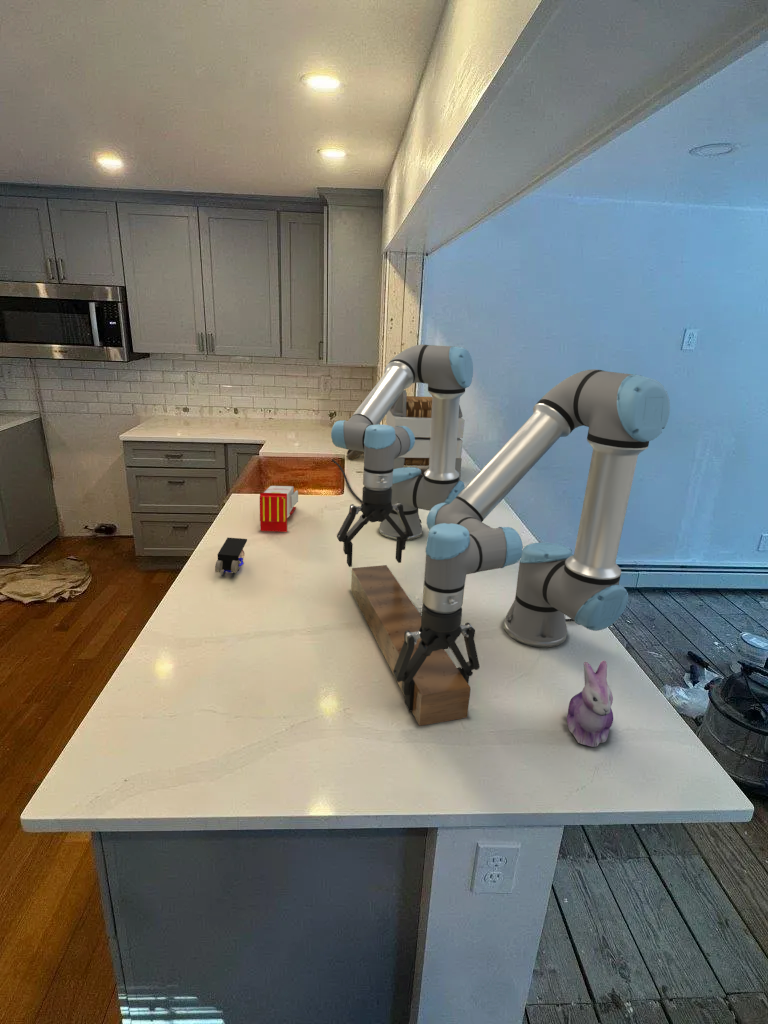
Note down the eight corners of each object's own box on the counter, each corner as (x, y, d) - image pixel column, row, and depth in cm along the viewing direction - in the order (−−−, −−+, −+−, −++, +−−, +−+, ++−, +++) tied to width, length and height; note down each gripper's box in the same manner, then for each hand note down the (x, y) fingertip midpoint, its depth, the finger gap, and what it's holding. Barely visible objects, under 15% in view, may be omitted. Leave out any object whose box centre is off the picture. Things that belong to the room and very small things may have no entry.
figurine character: (238, 584, 162) (249, 557, 175) (236, 562, 158) (247, 536, 172) (215, 584, 161) (227, 556, 175) (212, 561, 158) (225, 535, 171)
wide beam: (351, 591, 158) (351, 568, 156) (385, 587, 161) (386, 564, 159) (419, 726, 108) (421, 695, 106) (467, 717, 111) (470, 687, 109)
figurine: (591, 756, 102) (606, 687, 97) (551, 721, 111) (563, 655, 106) (628, 741, 107) (644, 673, 101) (587, 708, 115) (599, 644, 110)
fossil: (346, 442, 311) (368, 427, 306) (357, 455, 314) (379, 440, 309) (340, 456, 291) (363, 440, 286) (351, 470, 294) (374, 454, 289)
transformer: (382, 463, 289) (386, 382, 275) (445, 464, 293) (451, 384, 279) (390, 482, 257) (394, 392, 243) (460, 483, 261) (468, 394, 247)
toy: (300, 481, 221) (289, 494, 192) (300, 514, 224) (289, 533, 194) (268, 480, 221) (253, 493, 191) (269, 514, 223) (254, 532, 194)
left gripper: (332, 493, 137) (331, 572, 144) (428, 488, 144) (422, 564, 151) (326, 484, 144) (325, 560, 151) (418, 480, 151) (413, 553, 158)
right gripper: (390, 621, 100) (385, 724, 108) (505, 608, 106) (493, 705, 114) (379, 601, 107) (374, 699, 114) (487, 589, 113) (477, 682, 121)
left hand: (374, 562), depth 151 cm, fingers open, 13 cm apart
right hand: (433, 702), depth 114 cm, fingers closed on wide beam, 10 cm apart
